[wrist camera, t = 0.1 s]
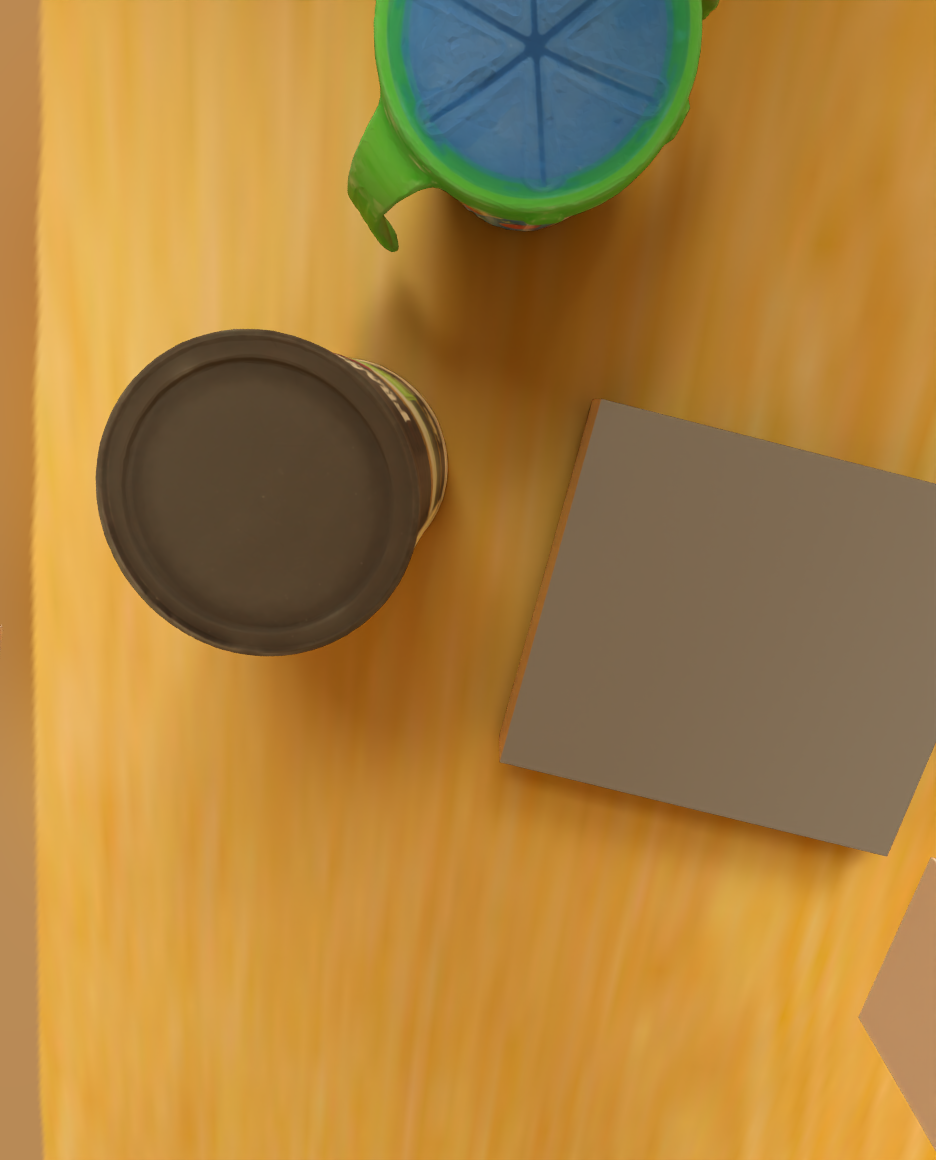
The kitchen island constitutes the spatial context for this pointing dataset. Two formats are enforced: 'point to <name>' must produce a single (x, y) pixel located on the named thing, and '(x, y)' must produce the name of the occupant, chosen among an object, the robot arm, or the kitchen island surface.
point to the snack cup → (522, 103)
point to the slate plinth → (734, 631)
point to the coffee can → (267, 488)
